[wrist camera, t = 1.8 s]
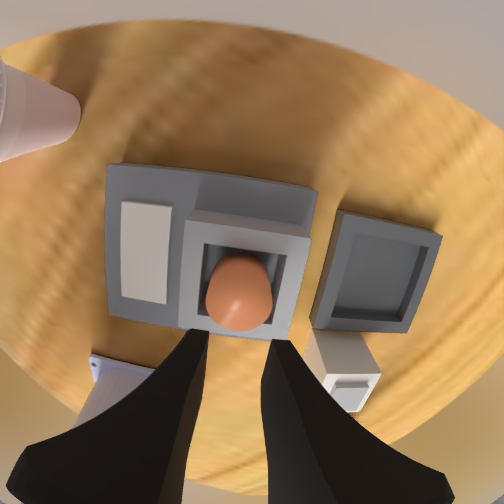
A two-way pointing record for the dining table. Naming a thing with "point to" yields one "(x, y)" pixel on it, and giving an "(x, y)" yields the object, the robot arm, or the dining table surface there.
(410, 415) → the dining table surface
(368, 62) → the dining table surface
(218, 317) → the button
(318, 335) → the block
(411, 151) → the dining table surface
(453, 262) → the dining table surface
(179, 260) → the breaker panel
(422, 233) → the tray
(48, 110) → the smoothie
